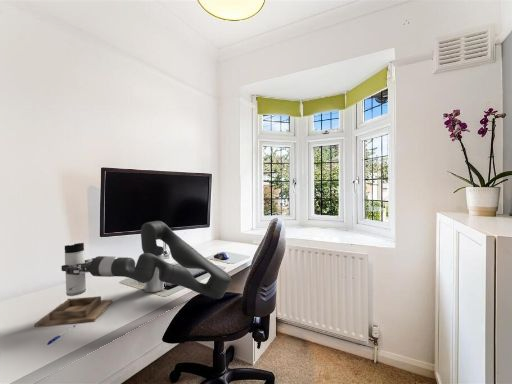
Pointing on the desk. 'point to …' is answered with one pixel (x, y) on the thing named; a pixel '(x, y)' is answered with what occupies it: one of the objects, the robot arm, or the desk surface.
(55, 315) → the mug holder
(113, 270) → the robot arm
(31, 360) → the desk surface
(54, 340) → the ballpoint pen
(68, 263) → the travel mug
